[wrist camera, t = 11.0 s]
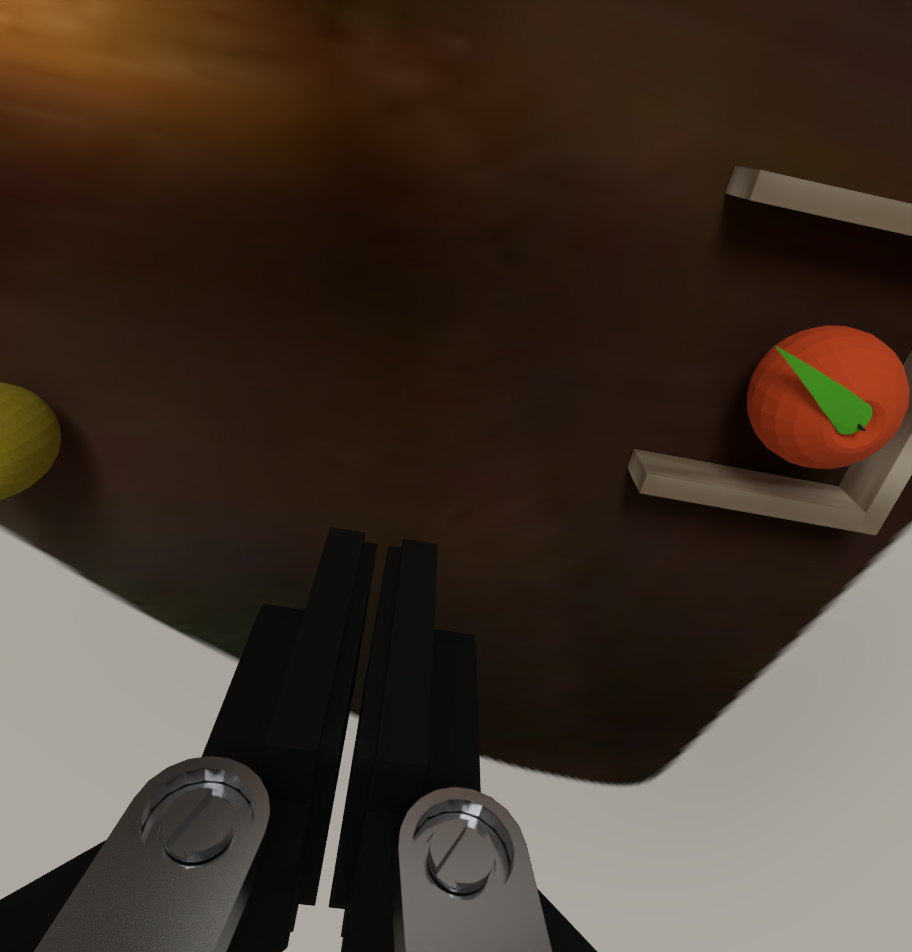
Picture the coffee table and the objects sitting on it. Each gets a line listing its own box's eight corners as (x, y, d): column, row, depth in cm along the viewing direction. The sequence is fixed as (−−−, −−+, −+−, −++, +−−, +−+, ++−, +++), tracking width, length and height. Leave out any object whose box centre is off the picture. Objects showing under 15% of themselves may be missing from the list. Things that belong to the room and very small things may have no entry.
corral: (734, 165, 31) (760, 170, 28) (1002, 225, 32) (1051, 235, 29) (627, 467, 38) (639, 493, 36) (848, 507, 40) (876, 535, 37)
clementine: (686, 370, 36) (733, 422, 29) (793, 266, 33) (870, 300, 27) (781, 456, 38) (843, 523, 32) (888, 366, 35) (978, 419, 29)
